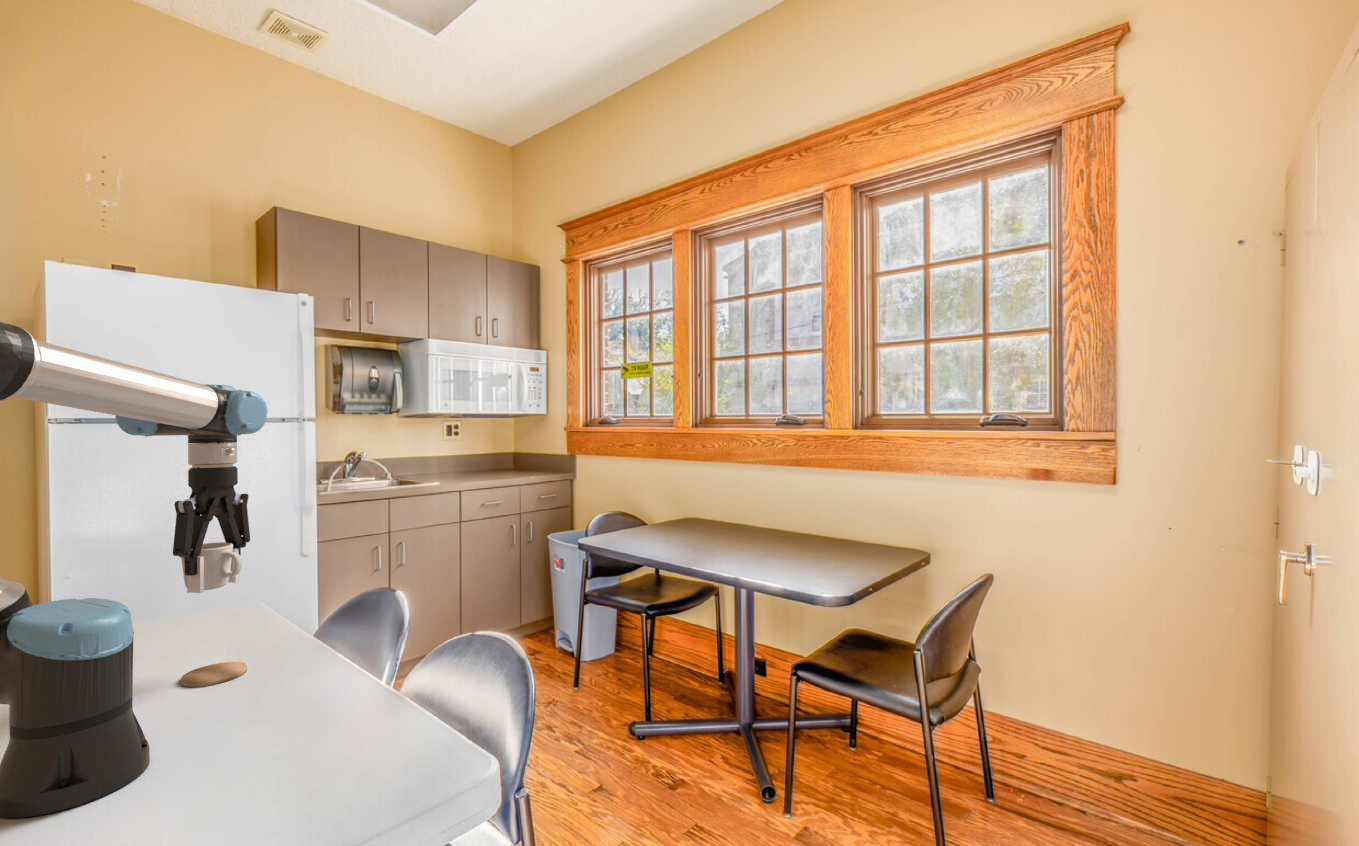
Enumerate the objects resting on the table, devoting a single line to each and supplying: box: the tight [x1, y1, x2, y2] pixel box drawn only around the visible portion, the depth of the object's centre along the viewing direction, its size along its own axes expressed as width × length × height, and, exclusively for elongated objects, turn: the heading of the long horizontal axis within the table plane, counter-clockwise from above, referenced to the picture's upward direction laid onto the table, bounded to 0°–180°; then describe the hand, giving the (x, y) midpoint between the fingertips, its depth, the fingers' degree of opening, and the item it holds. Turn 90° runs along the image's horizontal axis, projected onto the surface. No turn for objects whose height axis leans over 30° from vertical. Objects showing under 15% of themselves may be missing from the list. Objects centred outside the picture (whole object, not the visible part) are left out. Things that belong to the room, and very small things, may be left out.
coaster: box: [180, 661, 248, 688], centre depth 117 cm, size 10×10×1 cm
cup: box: [180, 541, 243, 591], centre depth 117 cm, size 11×8×8 cm
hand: (213, 586), depth 117 cm, fingers closed on cup, 7 cm apart
